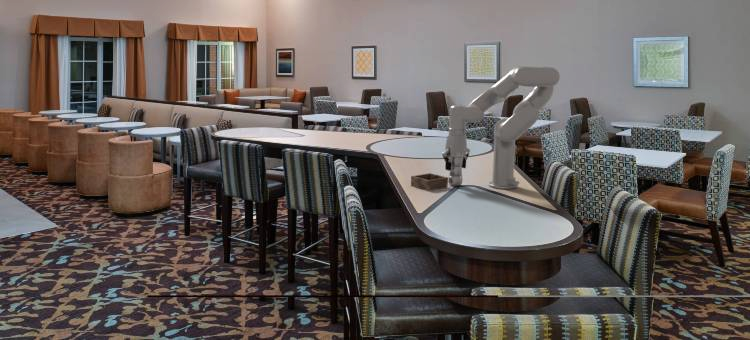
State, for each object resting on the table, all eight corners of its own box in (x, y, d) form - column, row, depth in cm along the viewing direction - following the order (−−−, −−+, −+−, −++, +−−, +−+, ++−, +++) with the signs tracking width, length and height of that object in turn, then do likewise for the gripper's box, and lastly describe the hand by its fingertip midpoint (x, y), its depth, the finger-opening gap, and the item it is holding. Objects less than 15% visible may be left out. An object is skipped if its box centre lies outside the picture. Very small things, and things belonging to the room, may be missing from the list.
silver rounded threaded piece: (449, 183, 272) (450, 142, 268) (463, 184, 270) (465, 142, 266) (446, 186, 266) (448, 144, 262) (461, 187, 264) (463, 144, 260)
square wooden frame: (447, 187, 265) (447, 177, 264) (428, 190, 258) (428, 180, 257) (429, 182, 275) (430, 173, 274) (410, 185, 267) (411, 176, 266)
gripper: (464, 130, 271) (462, 165, 275) (437, 132, 261) (436, 169, 264) (476, 132, 266) (474, 168, 269) (449, 134, 255) (448, 172, 259)
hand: (455, 168), depth 267 cm, fingers open, 9 cm apart
